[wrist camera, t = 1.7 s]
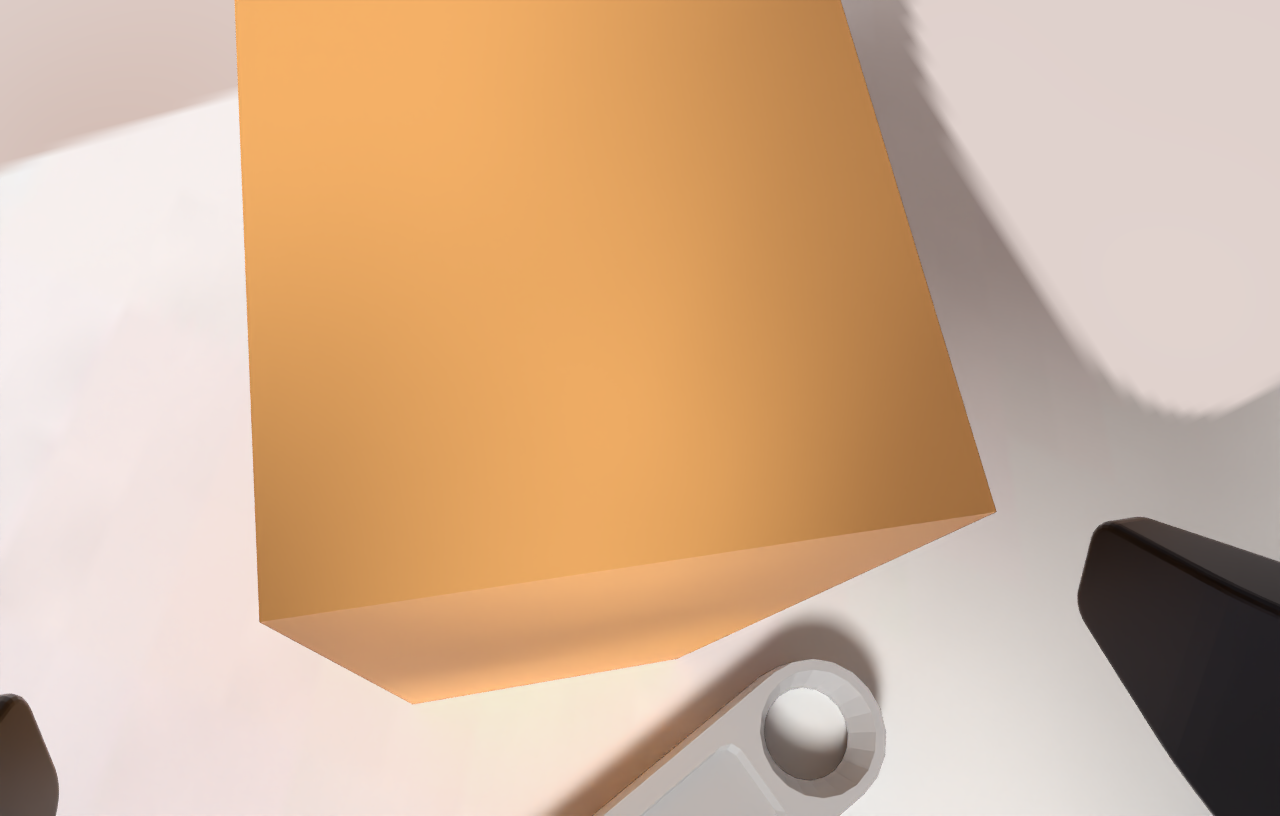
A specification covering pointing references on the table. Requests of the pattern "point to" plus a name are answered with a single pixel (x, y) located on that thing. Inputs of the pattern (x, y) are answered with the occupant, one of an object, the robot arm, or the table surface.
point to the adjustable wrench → (761, 756)
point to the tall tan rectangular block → (576, 332)
